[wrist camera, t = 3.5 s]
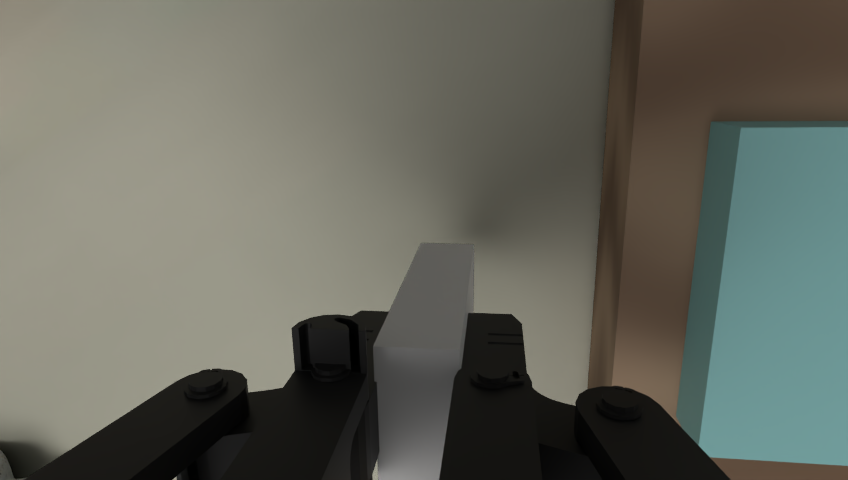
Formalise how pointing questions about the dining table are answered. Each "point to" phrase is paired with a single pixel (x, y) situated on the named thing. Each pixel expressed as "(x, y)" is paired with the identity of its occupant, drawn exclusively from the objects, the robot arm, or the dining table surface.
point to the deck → (693, 167)
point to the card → (770, 296)
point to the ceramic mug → (6, 469)
